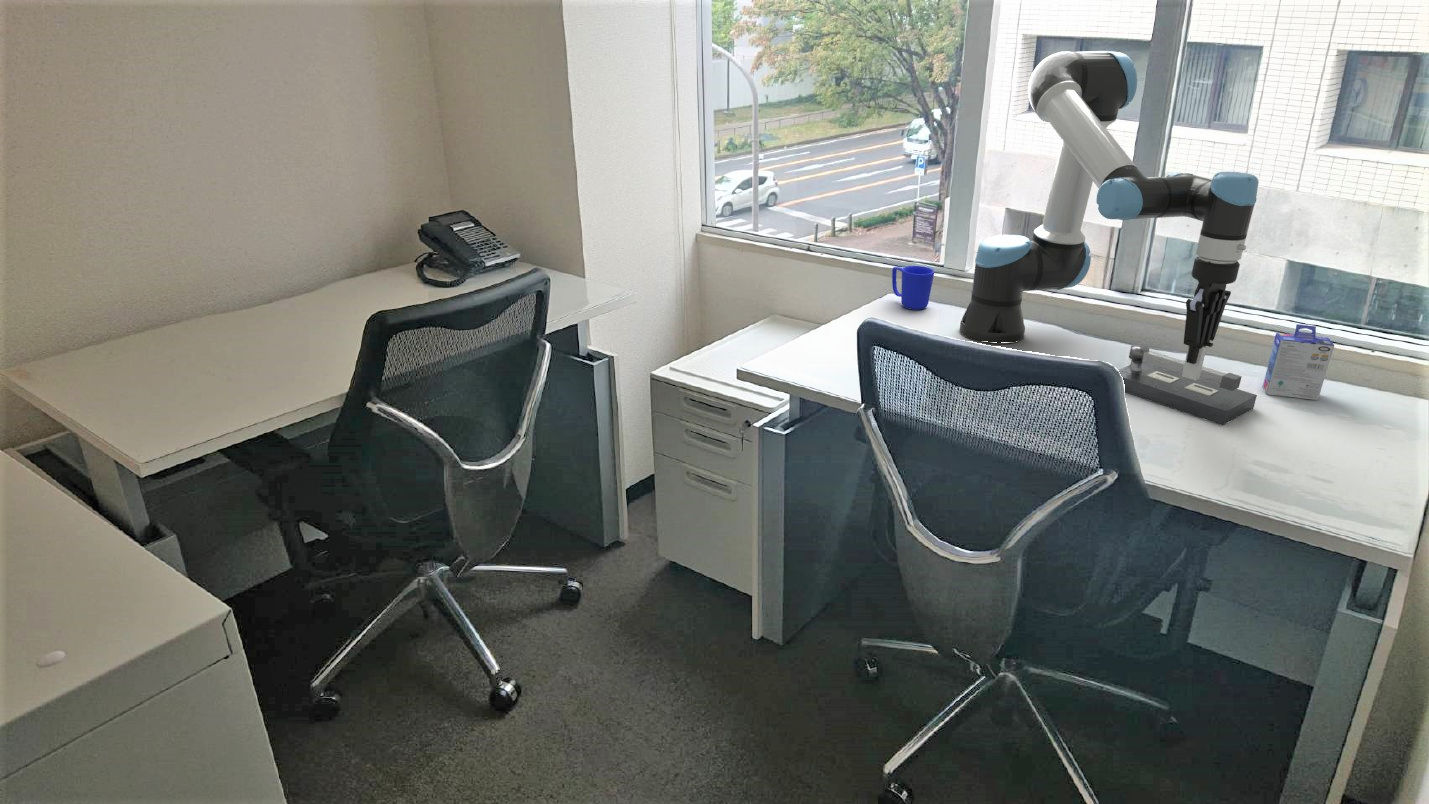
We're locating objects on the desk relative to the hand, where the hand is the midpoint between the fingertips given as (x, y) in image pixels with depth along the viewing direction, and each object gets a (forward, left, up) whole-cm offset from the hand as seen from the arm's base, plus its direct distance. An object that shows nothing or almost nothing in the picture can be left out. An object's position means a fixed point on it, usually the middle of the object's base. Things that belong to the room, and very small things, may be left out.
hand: (1190, 377), depth 180 cm
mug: (-78, +9, -8) cm, 79 cm away
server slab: (-4, +7, -8) cm, 11 cm away
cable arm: (-5, +7, -2) cm, 9 cm away
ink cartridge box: (+9, +28, -8) cm, 30 cm away
